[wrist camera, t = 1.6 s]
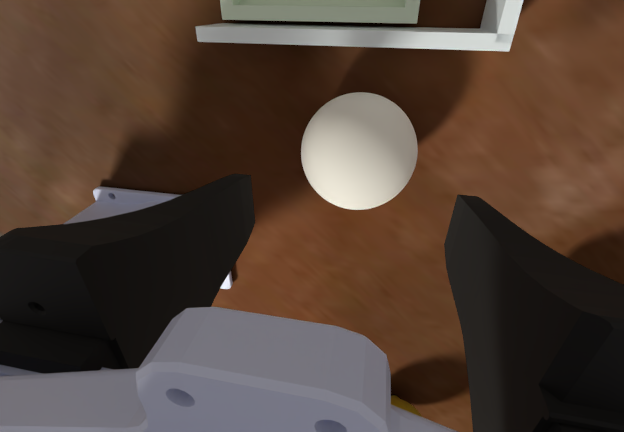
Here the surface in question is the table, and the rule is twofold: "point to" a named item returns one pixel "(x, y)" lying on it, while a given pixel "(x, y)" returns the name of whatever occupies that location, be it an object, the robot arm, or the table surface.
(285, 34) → the acrylic walls
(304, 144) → the ball
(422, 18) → the table surface
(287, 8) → the resting spot
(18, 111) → the table surface
